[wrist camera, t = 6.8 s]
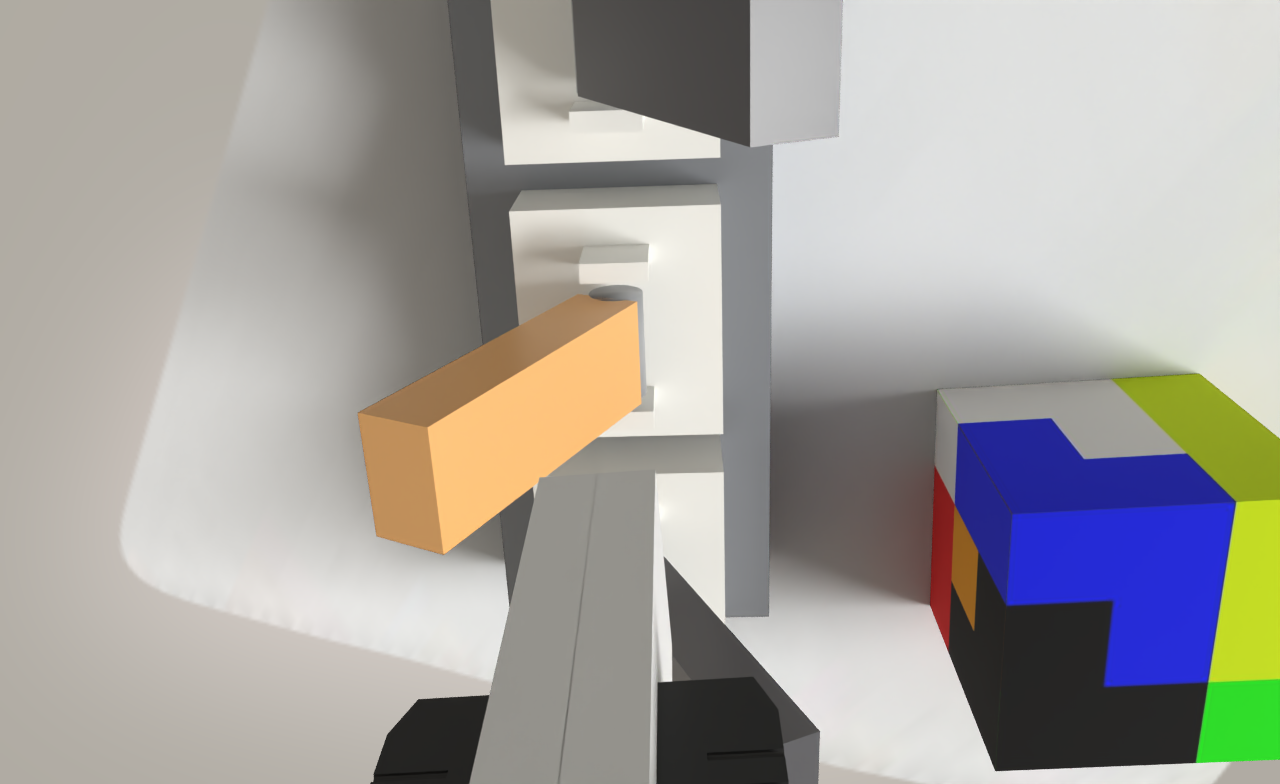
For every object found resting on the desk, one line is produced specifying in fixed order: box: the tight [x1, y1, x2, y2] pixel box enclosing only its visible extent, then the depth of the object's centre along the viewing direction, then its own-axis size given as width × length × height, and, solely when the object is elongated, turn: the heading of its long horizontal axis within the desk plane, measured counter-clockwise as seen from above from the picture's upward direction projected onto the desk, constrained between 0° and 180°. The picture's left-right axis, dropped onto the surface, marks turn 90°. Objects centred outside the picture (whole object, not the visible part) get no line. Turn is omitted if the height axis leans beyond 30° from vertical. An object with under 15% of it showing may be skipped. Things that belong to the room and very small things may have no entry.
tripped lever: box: [358, 285, 647, 555], centre depth 29 cm, size 2×3×11 cm, turn 2°
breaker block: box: [448, 0, 843, 784], centre depth 32 cm, size 10×26×18 cm, turn 2°
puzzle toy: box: [930, 374, 1280, 771], centre depth 39 cm, size 10×10×10 cm
